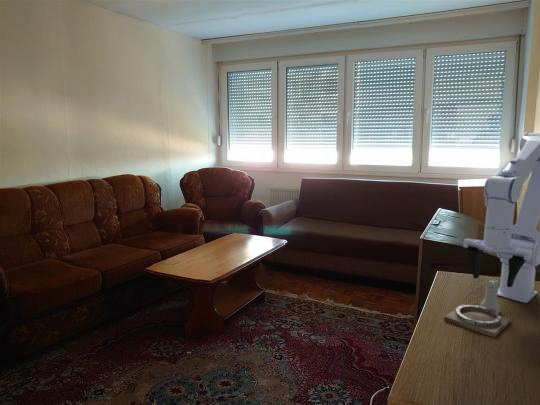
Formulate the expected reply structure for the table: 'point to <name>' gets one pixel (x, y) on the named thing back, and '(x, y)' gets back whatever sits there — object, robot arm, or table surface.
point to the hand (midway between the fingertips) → (492, 281)
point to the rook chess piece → (491, 295)
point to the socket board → (478, 319)
